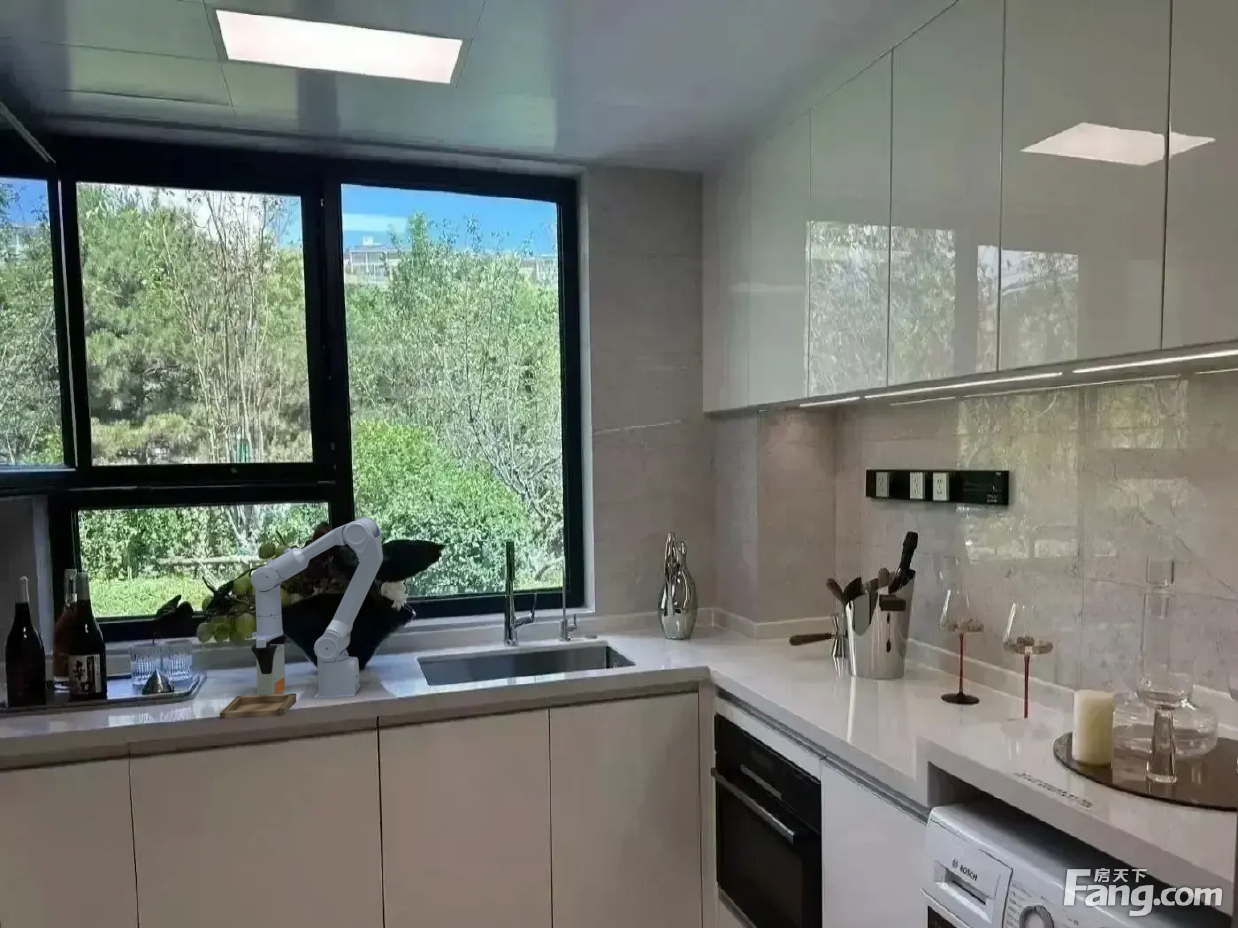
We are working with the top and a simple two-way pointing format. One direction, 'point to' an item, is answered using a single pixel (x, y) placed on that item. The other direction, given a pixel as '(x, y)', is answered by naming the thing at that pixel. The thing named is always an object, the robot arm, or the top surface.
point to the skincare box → (272, 675)
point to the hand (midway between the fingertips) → (271, 669)
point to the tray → (259, 706)
